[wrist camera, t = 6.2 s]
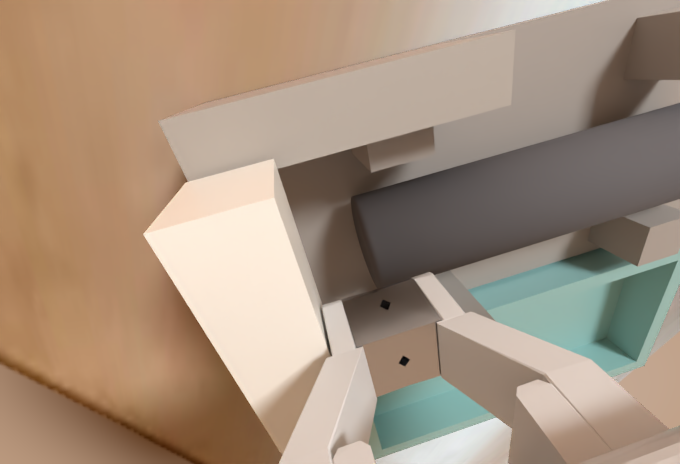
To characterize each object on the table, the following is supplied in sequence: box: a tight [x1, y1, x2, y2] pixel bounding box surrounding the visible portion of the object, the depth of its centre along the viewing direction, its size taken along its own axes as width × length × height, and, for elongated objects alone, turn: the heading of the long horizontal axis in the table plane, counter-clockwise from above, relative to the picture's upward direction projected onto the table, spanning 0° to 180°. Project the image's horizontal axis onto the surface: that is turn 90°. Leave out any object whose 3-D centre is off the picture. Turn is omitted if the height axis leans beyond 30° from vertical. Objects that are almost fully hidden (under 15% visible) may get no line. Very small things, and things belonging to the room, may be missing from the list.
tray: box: [368, 248, 680, 459], centre depth 18 cm, size 19×10×3 cm, turn 103°
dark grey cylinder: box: [351, 103, 680, 289], centre depth 11 cm, size 14×4×4 cm, turn 103°
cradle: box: [158, 0, 680, 321], centre depth 12 cm, size 22×11×5 cm, turn 103°
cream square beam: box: [143, 159, 332, 455], centre depth 8 cm, size 2×8×2 cm, turn 13°
